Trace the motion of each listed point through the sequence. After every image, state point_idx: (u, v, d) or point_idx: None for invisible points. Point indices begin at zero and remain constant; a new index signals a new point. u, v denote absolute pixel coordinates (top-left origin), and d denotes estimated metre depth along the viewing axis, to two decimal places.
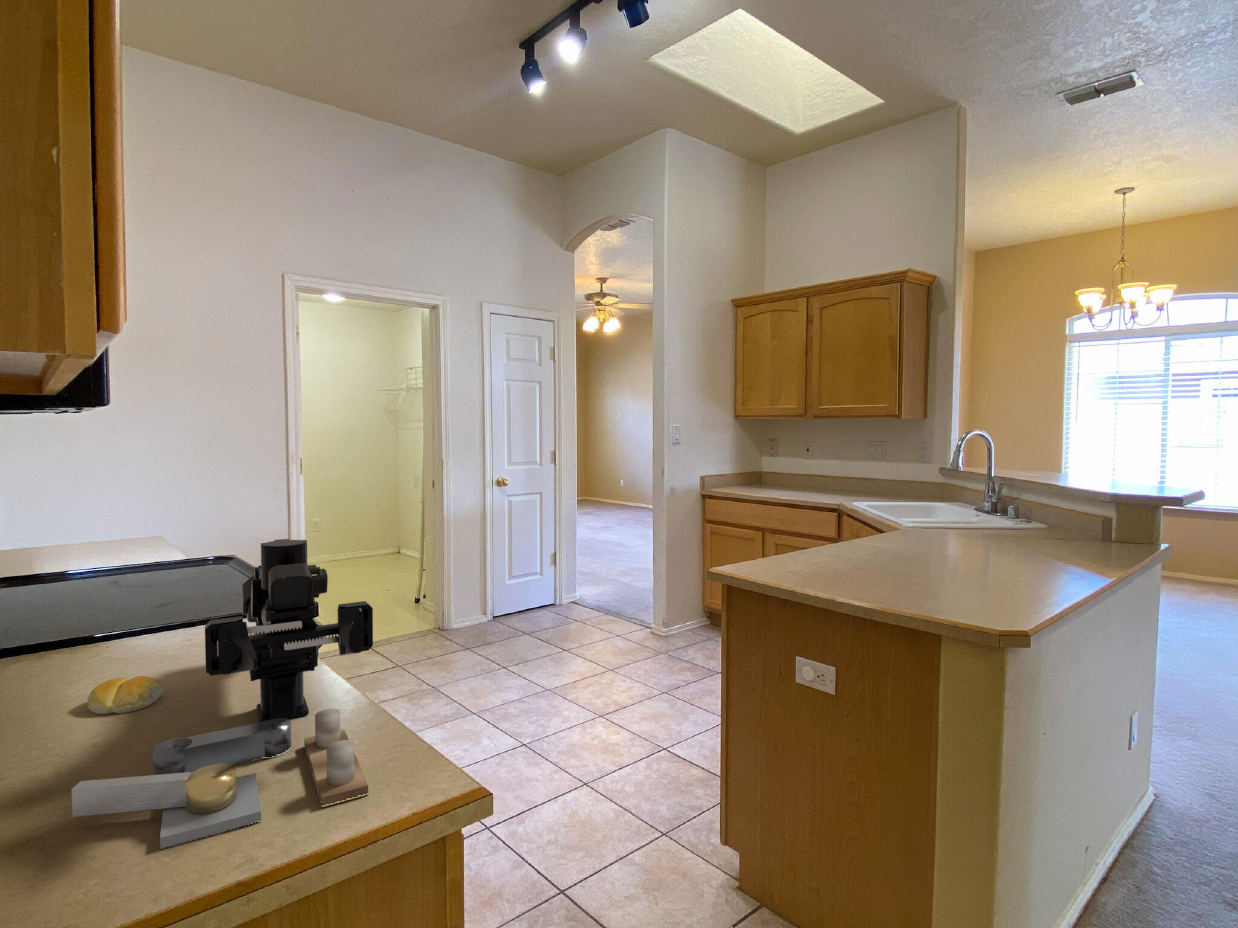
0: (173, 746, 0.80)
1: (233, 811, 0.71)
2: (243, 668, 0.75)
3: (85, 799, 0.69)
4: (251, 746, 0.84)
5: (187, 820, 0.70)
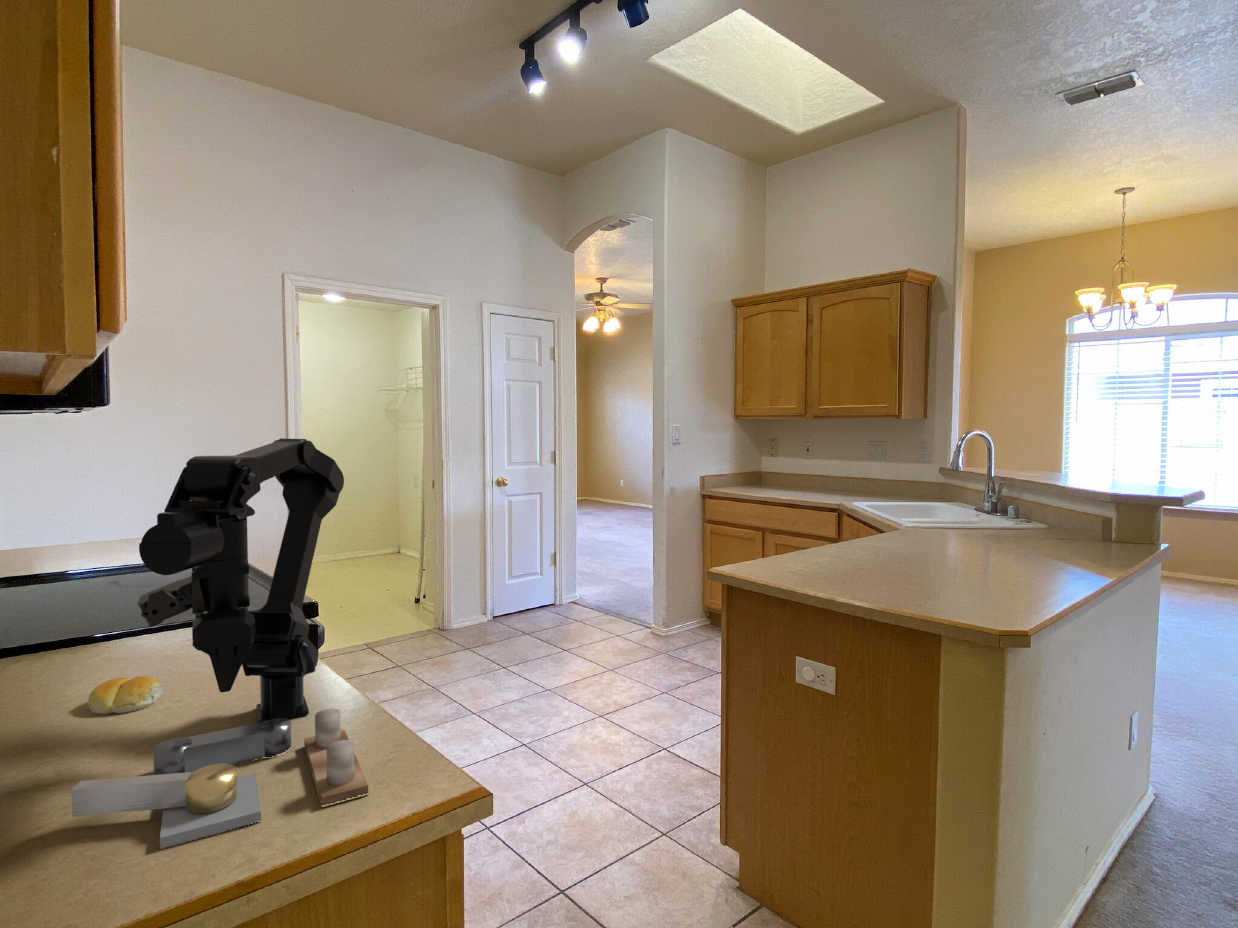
0: (173, 746, 0.80)
1: (233, 811, 0.71)
2: None
3: (85, 799, 0.69)
4: (251, 746, 0.84)
5: (187, 820, 0.70)
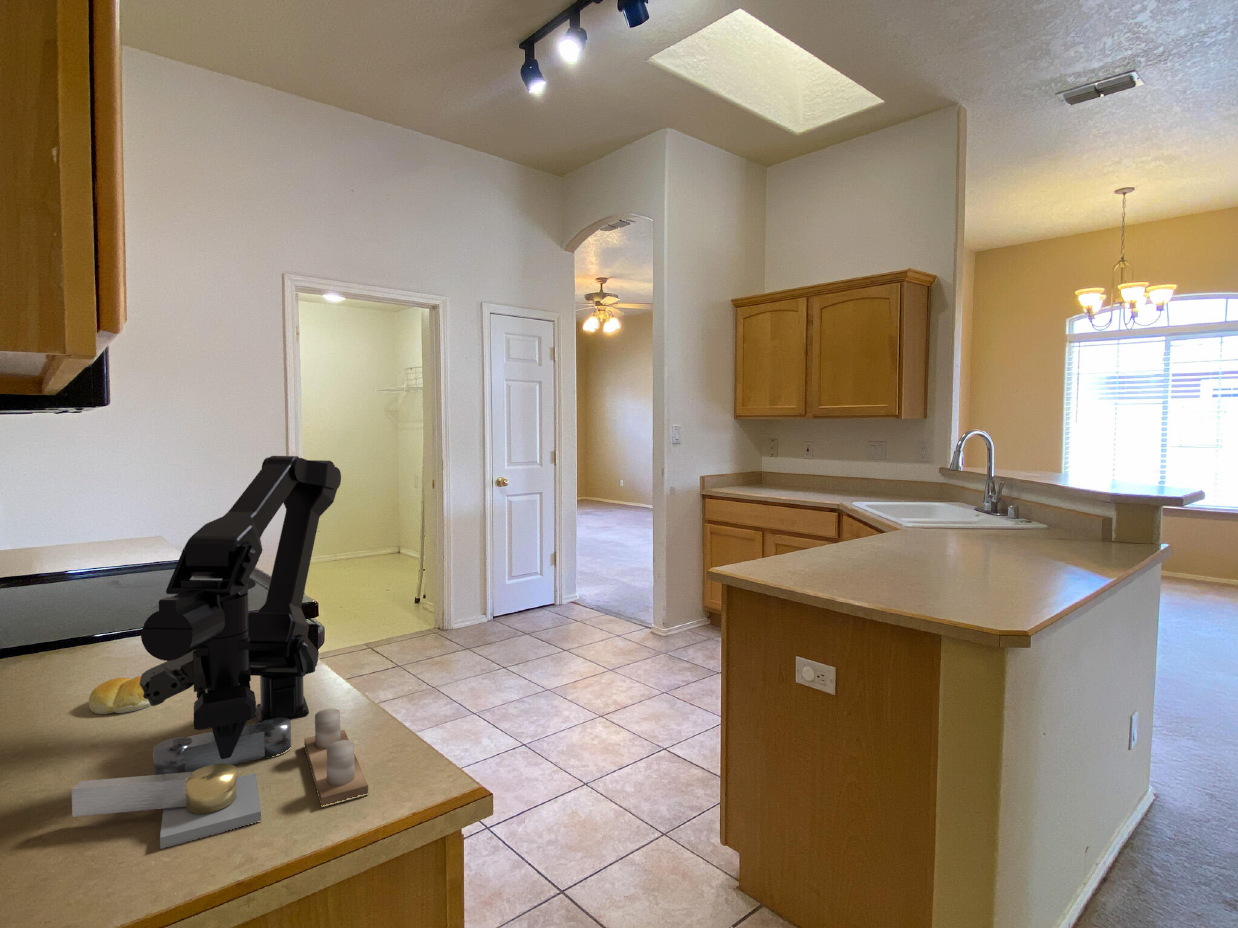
0: (173, 746, 0.80)
1: (233, 811, 0.71)
2: None
3: (85, 799, 0.69)
4: (251, 745, 0.84)
5: (187, 820, 0.70)
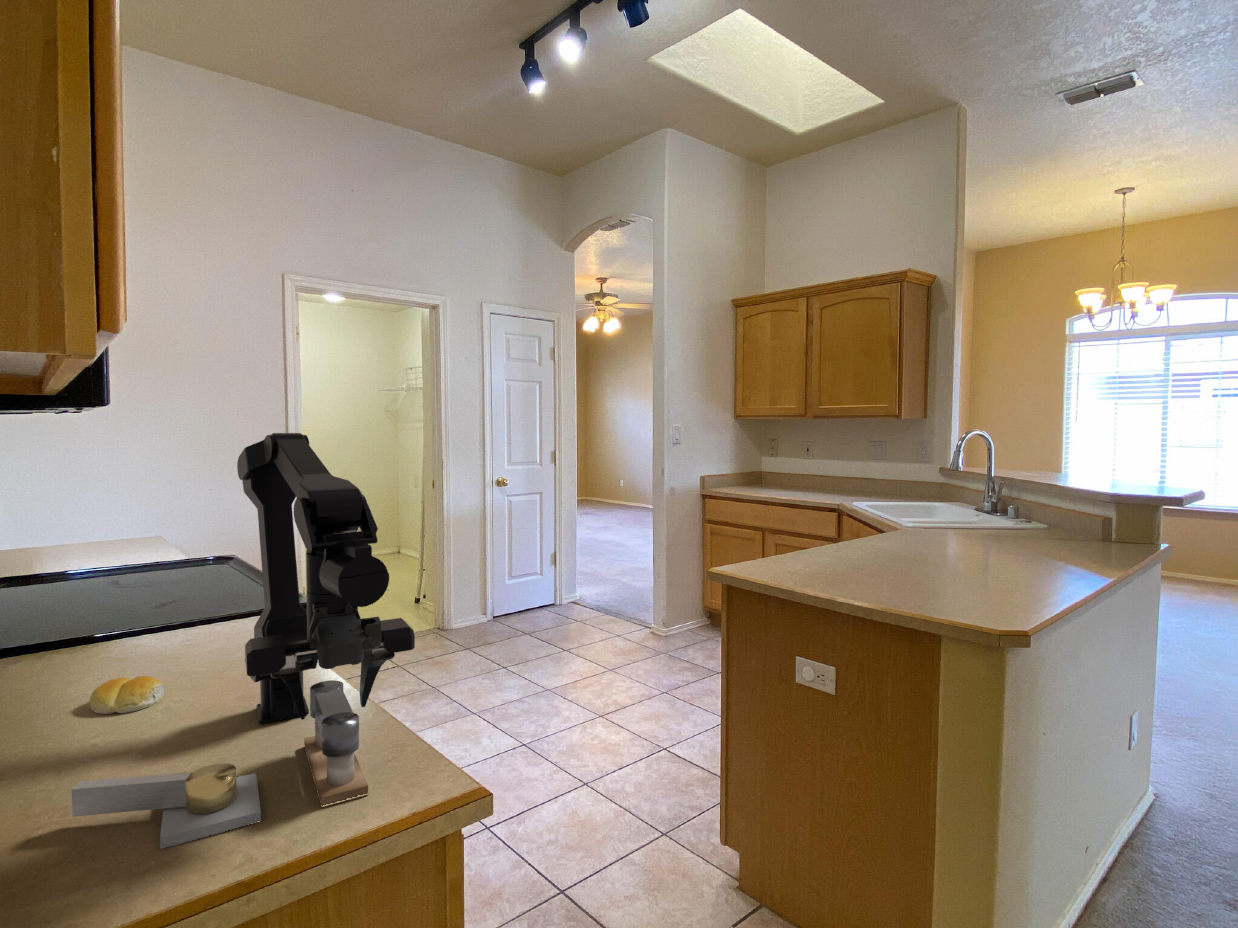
0: (343, 718, 0.77)
1: (233, 811, 0.71)
2: None
3: (85, 799, 0.69)
4: None
5: (187, 820, 0.70)
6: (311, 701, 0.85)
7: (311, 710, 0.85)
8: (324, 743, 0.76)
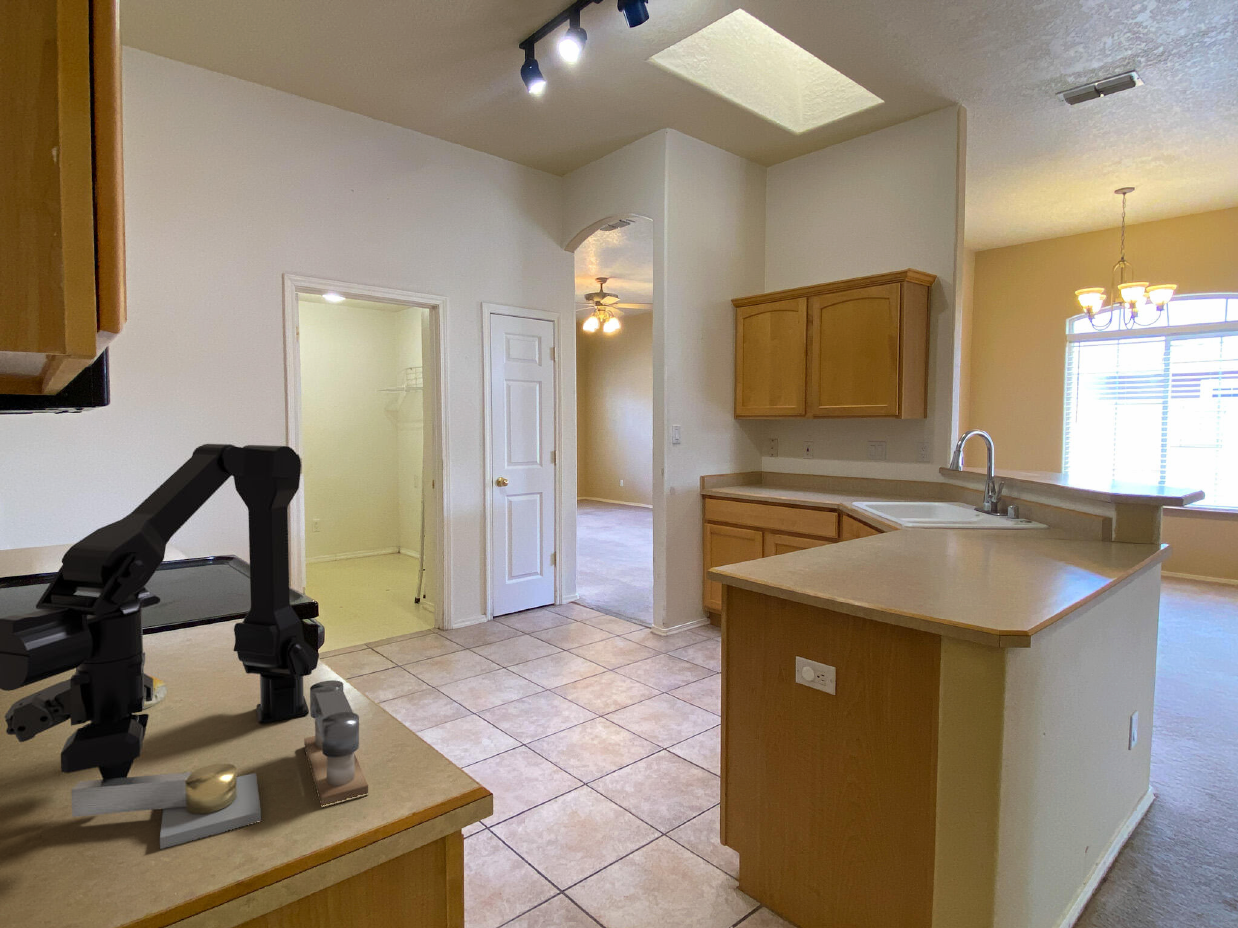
0: (343, 718, 0.77)
1: (233, 811, 0.71)
2: None
3: (85, 799, 0.69)
4: None
5: (187, 820, 0.70)
6: (311, 701, 0.85)
7: (311, 710, 0.85)
8: (324, 743, 0.76)
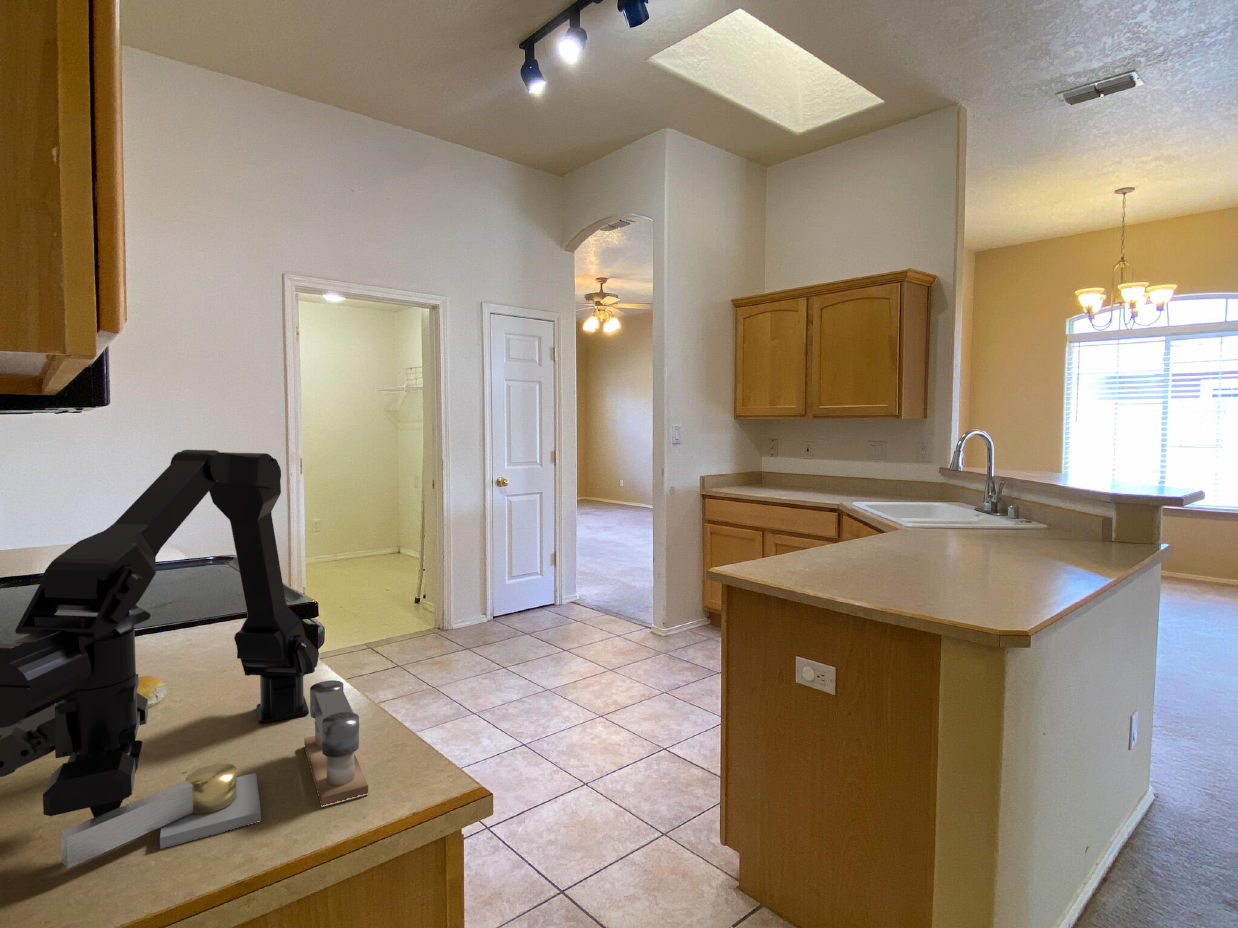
0: (343, 718, 0.77)
1: (233, 811, 0.71)
2: None
3: (83, 843, 0.62)
4: None
5: (187, 820, 0.70)
6: (311, 701, 0.85)
7: (311, 710, 0.85)
8: (324, 743, 0.76)
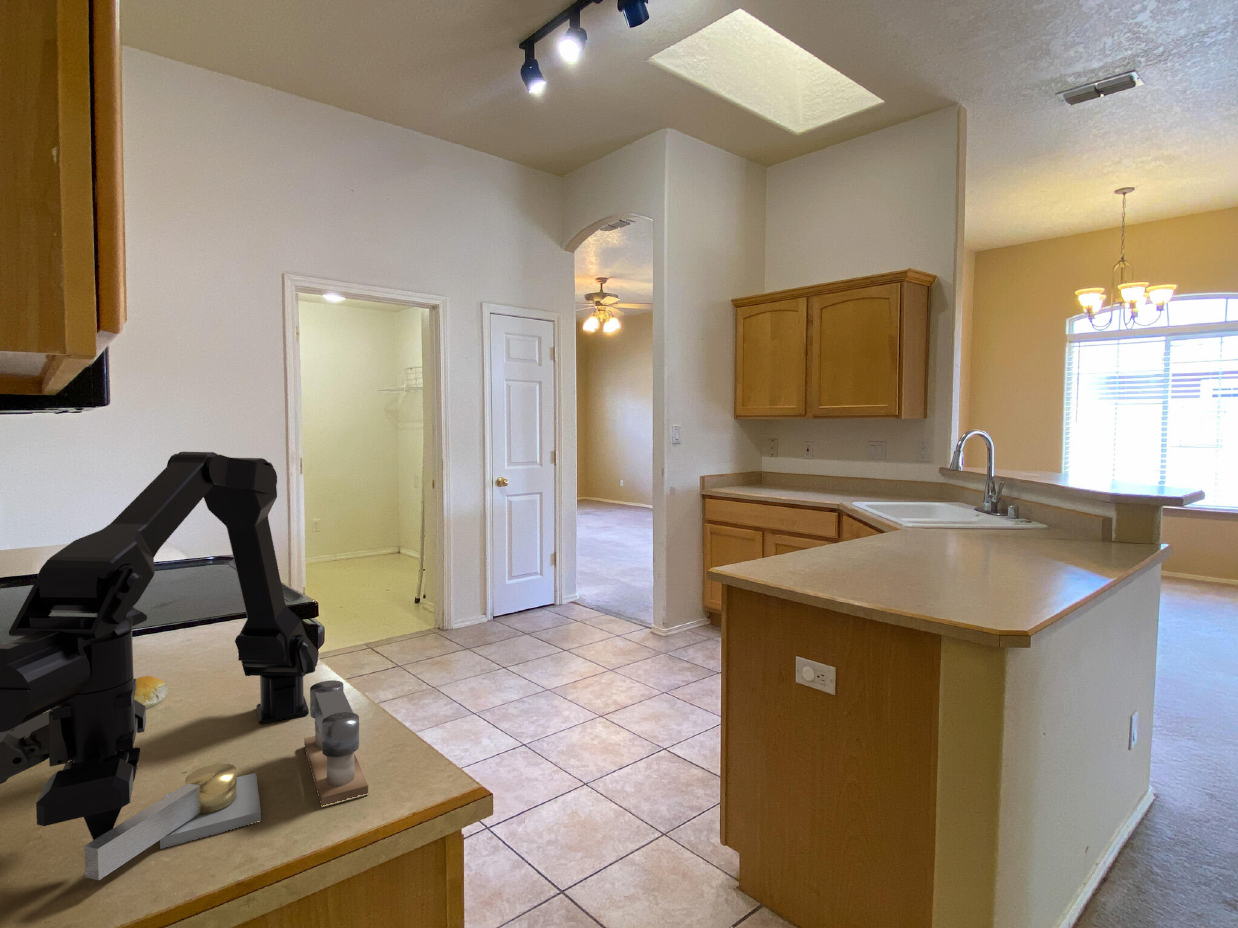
0: (343, 718, 0.77)
1: (233, 811, 0.71)
2: None
3: (111, 853, 0.61)
4: None
5: None
6: (311, 701, 0.85)
7: (311, 710, 0.85)
8: (324, 743, 0.76)
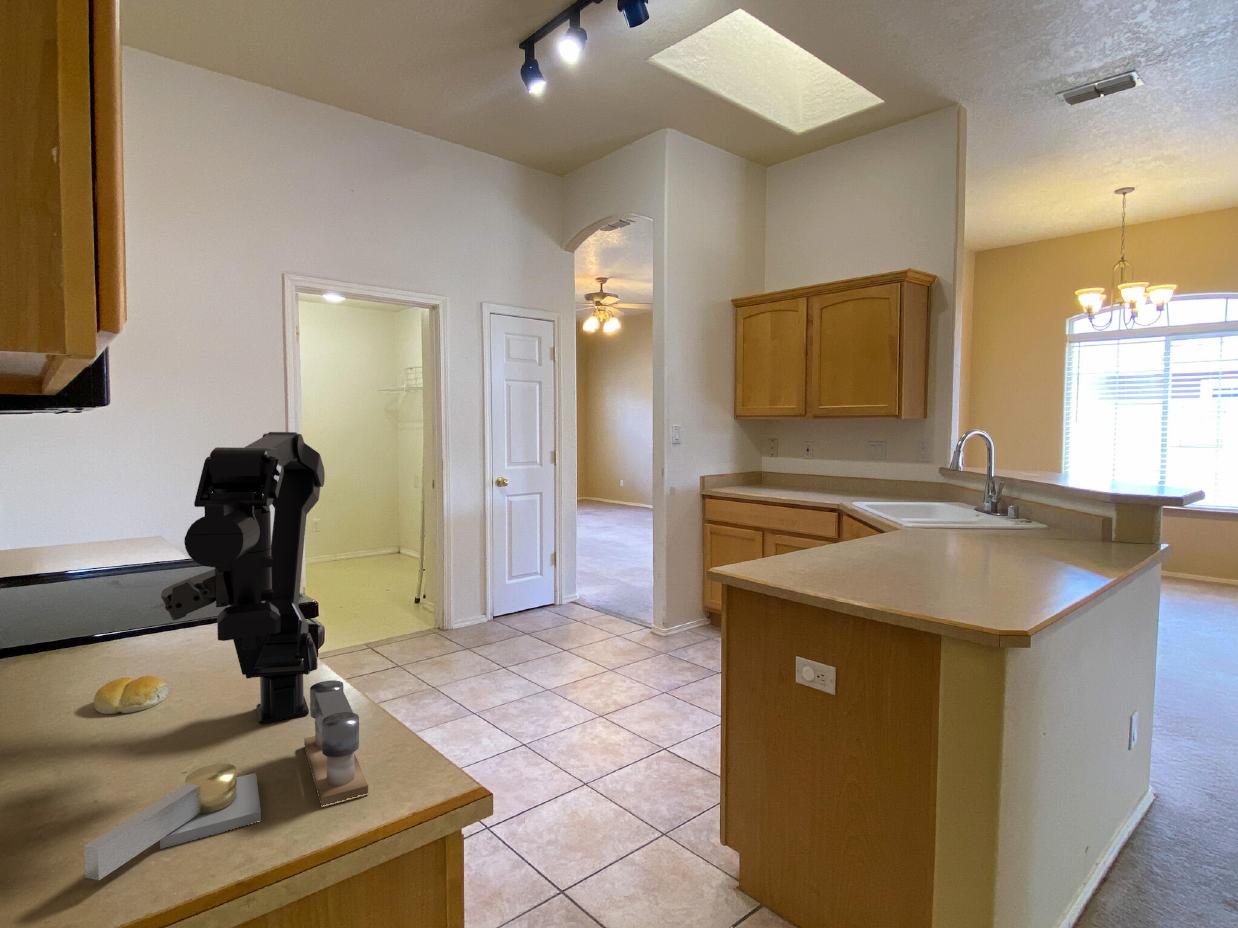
0: (343, 718, 0.77)
1: (233, 811, 0.71)
2: None
3: (111, 853, 0.61)
4: None
5: None
6: (311, 701, 0.85)
7: (311, 710, 0.85)
8: (324, 743, 0.76)
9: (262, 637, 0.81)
